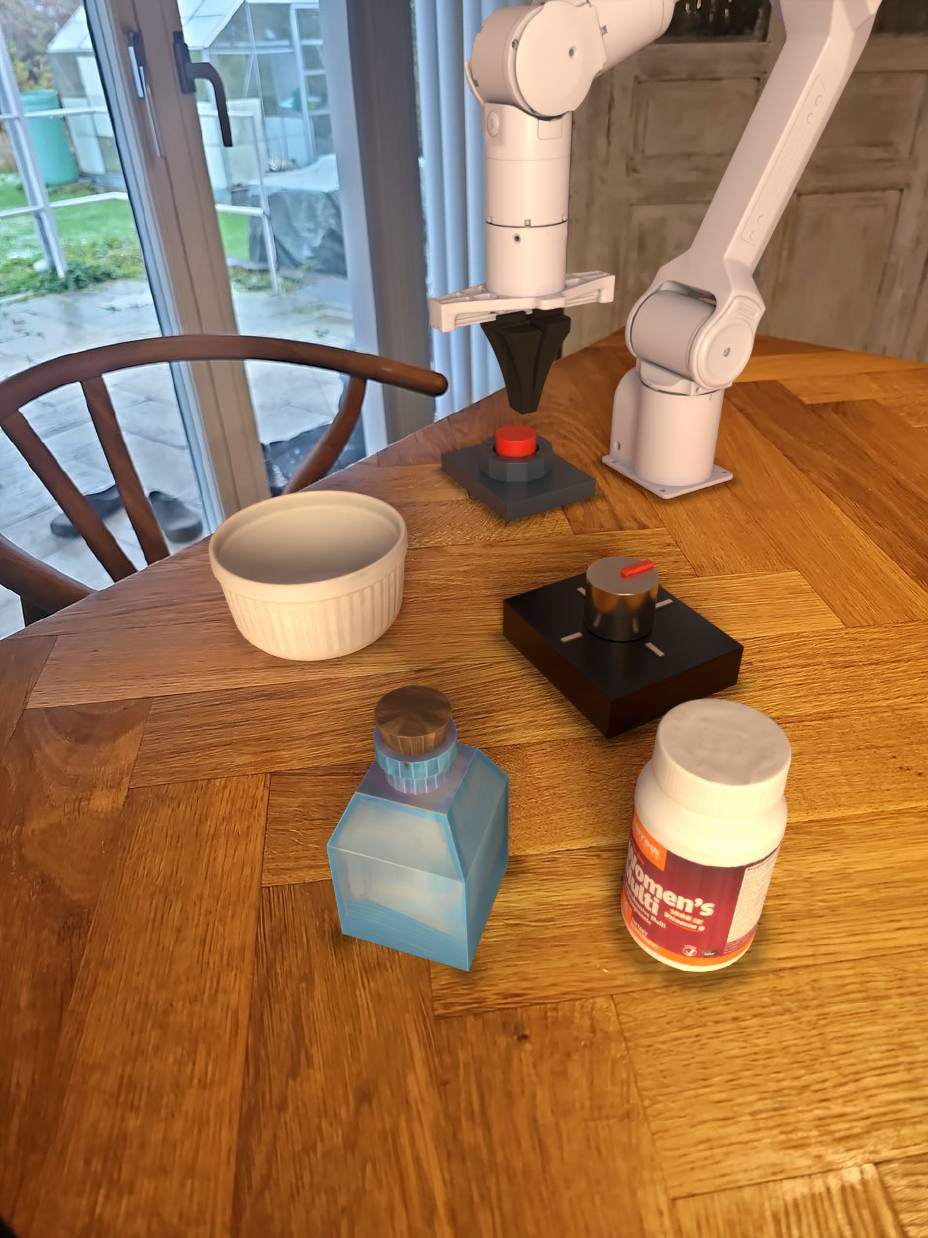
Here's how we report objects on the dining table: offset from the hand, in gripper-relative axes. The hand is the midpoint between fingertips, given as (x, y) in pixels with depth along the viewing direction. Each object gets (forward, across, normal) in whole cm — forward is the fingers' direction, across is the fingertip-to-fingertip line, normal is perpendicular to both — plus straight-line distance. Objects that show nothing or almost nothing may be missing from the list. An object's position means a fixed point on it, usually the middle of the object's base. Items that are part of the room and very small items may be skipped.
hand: (523, 409), depth 66 cm
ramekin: (+10, -20, -5) cm, 23 cm away
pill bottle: (+10, -14, -37) cm, 41 cm away
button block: (+10, +3, +6) cm, 12 cm away
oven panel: (+10, -5, -20) cm, 22 cm away
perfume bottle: (+10, -24, -30) cm, 40 cm away
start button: (+7, +3, +6) cm, 9 cm away
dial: (+7, -5, -20) cm, 21 cm away
